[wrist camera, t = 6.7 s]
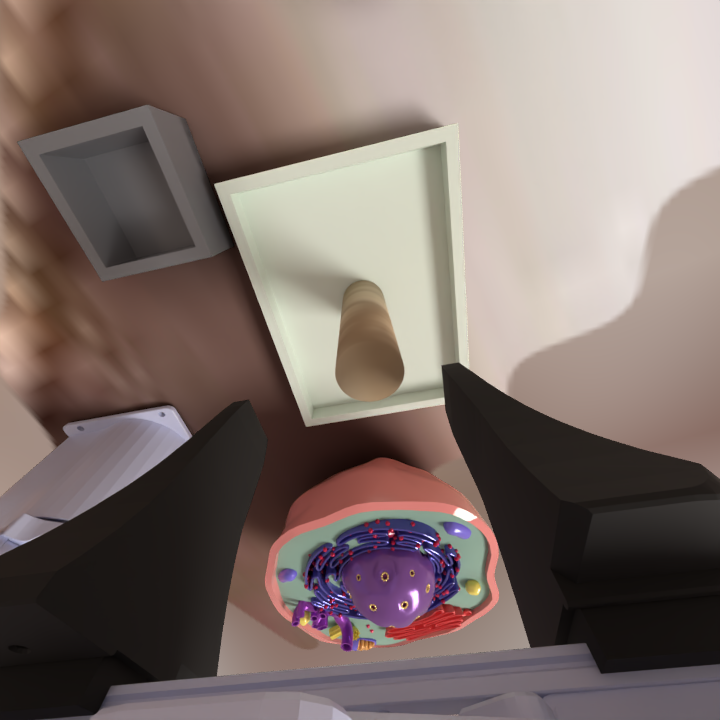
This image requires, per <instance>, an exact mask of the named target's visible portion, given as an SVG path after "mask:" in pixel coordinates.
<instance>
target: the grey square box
mask: <svg viewBox="0 0 720 720" xmlns="http://www.w3.org/2000/svg"><path fill="white" fill-rule="evenodd" d="M17 143H18V145H19V146H20V148H21V149H22V151H23V153H24V154H25V156H26V158H27V159H28V161H29V163H30V164H31V166H32V167H33V169H34V171H35V172H36V174H37V176H38V177H39V179H40V181H41V182H42V184H43V185H44V187H45V189H46V190H47V192H48V194H49V195H50V197H51V198H52V200H53V202H54V203H55V205H56V207H57V208H58V210H59V212H60V213H61V215H62V216H63V218H64V220H65V221H66V223H67V225H68V226H69V228H70V230H71V231H72V233H73V234H74V236H75V238H76V239H77V241H78V243H79V244H80V246H81V248H82V249H83V251H84V252H85V254H86V256H87V257H88V259H89V261H90V262H91V264H92V265H93V267H94V269H95V270H96V272H97V274H98V275H99V277H100V279H101V280H102V282H103V281H107V280H112V279H116V278H120V277H125V276H129V275H134V274H138V273H143V272H147V271H151V270H156V269H160V268H165V267H169V266H174V265H178V264H182V263H187V262H191V261H196V260H200V259H204V258H209V257H213V256H215V255H217V254H219V253H221V252H223V251H225V250H227V249H229V248H231V247H233V246H234V244H233V241H232V239H231V236H230V234H229V231H228V228H227V226H226V223H225V221H224V218H223V215H222V213H221V210H220V208H219V205H218V202H217V200H216V197H215V195H214V192H213V189H212V187H211V184H210V182H209V179H208V176H207V174H206V171H205V169H204V166H203V163H202V161H201V158H200V156H199V153H198V150H197V148H196V145H195V143H194V140H193V137H192V135H191V132H190V130H189V127H188V124H187V122H186V119H184V118H182V117H179V116H176V115H174V114H171V113H168V112H166V111H163V110H161V109H158V108H155V107H153V106H150V105H145V106H141V107H138V108H134V109H131V110H127V111H124V112H120V113H117V114H113V115H110V116H106V117H102V118H99V119H95V120H92V121H88V122H85V123H81V124H78V125H74V126H71V127H67V128H64V129H60V130H57V131H53V132H50V133H46V134H43V135H39V136H35V137H32V138H28V139H25V140H21V141H18V142H17Z"/></svg>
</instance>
